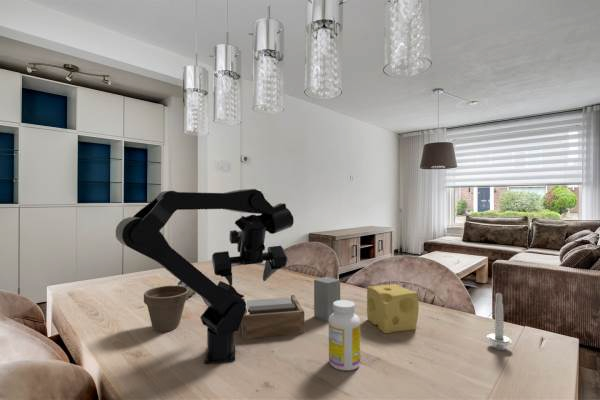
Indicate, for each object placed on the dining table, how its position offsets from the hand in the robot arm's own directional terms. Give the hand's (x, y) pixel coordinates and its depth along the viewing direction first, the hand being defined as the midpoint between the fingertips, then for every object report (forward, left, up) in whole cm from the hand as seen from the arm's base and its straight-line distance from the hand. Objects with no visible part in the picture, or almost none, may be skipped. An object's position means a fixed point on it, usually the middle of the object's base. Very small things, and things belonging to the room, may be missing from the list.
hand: (247, 282), depth 84 cm
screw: (-24, -57, -13) cm, 63 cm away
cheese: (-6, -39, -13) cm, 42 cm away
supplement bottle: (-23, -19, -13) cm, 33 cm away
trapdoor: (+1, -6, -9) cm, 11 cm away
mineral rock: (+34, +21, -13) cm, 42 cm away
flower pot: (+5, +22, -13) cm, 25 cm away
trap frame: (+1, -6, -12) cm, 14 cm away
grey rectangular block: (+3, -24, -12) cm, 27 cm away
